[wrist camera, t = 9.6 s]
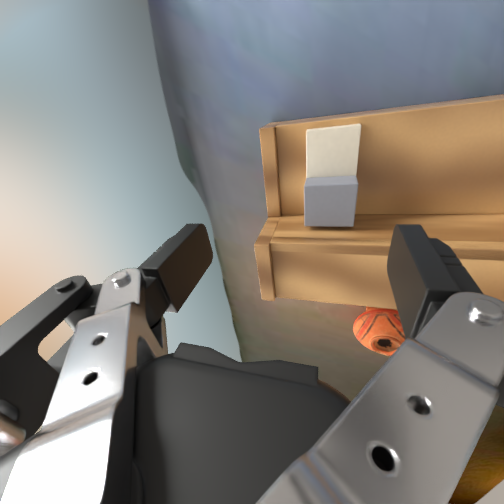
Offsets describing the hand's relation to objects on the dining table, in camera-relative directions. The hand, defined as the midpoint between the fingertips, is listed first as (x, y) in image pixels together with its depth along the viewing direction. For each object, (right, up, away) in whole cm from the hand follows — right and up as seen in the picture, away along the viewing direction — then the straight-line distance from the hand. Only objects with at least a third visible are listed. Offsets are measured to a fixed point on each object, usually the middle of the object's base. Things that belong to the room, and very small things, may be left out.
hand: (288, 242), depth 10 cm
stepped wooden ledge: (+13, +6, +16) cm, 21 cm away
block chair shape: (+6, +7, +12) cm, 16 cm away
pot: (+18, -10, +25) cm, 32 cm away
